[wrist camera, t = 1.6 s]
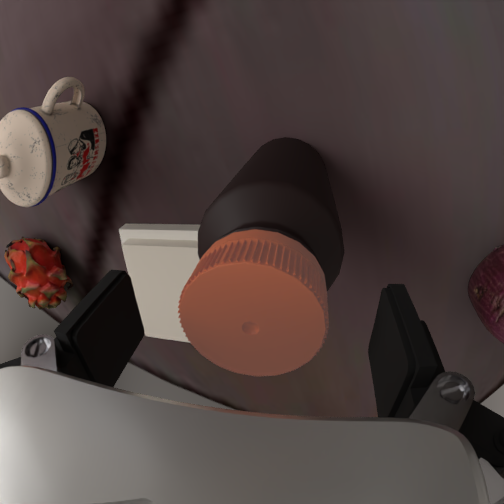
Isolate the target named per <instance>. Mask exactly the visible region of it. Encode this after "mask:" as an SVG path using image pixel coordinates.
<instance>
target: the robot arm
mask: <svg viewBox="0 0 504 504" xmlns="http://www.w3.org/2000/svg"><path fill="white" fill-rule="evenodd" d="M54 332H55V334H56V338H55V339H53V338H52V337H51V336H49V335H38V336H35V337H33V338H31V339H30V340H28V341H27V342H26V343H25V344H24V346H23V348H22V352H21V357H19V358H17V359H14V360H11V361H8V362H5V363H2V364H0V504H504V418H503V417H502V416H500V415H498V414H497V413H495V412H493V411H491V410H490V409H488V408H486V407H485V406H483V405H481V404H479V403H478V402H476V401H474V396H475V390H474V386H473V384H472V382H471V381H470V380H469V379H468V378H467V377H465V376H464V375H462V374H460V373H457V372H445V370H444V367H443V365H442V362H441V359H440V357H439V354H438V352H437V349H436V347H435V344H434V342H433V339H432V337H431V334H430V332H429V330H428V327H427V325H426V323H425V322H424V321H423V320H421V321H420V319H419V317H418V314H417V312H416V310H415V307H414V305H413V303H412V301H411V298H410V296H409V294H408V292H407V289H406V287H405V285H404V284H388V286H387V288H383V289H382V292H381V296H380V301H379V305H378V310H377V314H376V319H375V323H374V327H373V331H372V335H371V339H370V343H369V349H368V354H369V360H370V366H371V372H372V378H373V384H374V391H375V397H376V404H377V412H378V417H319V416H295V415H279V414H267V413H256V412H247V411H238V410H229V409H222V408H214V407H207V406H201V405H195V404H189V403H183V402H177V401H172V400H167V399H162V398H157V397H152V396H147V395H143V394H139V393H134V392H130V391H126V390H122V389H118V388H114V385H115V383H116V381H117V380H118V378H119V376H120V374H121V373H122V371H123V369H124V368H125V366H126V365H127V363H128V361H129V360H130V358H131V356H132V355H133V353H134V351H135V350H136V348H137V346H138V345H139V343H140V341H141V340H142V338H143V336H144V326H143V323H142V319H141V316H140V312H139V308H138V304H137V301H136V297H135V293H134V289H133V285H132V281H131V277H130V276H129V275H127V273H126V272H125V271H121V270H111V271H109V272H108V273H107V274H106V275H105V276H104V277H103V279H102V280H101V281H100V282H99V283H98V284H97V285H96V286H95V287H94V288H93V289H92V290H91V291H90V292H89V293H88V294H87V295H86V296H85V297H84V298H83V299H82V301H81V302H80V303H79V304H78V305H77V306H76V307H75V308H74V309H73V310H72V311H71V312H70V314H69V315H68V316H67V317H66V318H65V319H64V320H63V321H62V322H61V324H60V325H59V326H58V327H57V328H56V329H55V331H54Z"/></svg>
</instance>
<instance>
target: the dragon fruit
mask: <svg viewBox="0 0 504 504" xmlns="http://www.w3.org/2000/svg"><path fill="white" fill-rule="evenodd" d="M7 247H9V248H8V251H7V250H5V260H6V262H7V263H8V265H9V266H10V268H11V271H10V273H9V275H8V278H9V280H10V281H11V282H13V283H15V284H16V285H17V290H16V292H17V293H18V294H19V296H20V297H25V298H27V299H28V304H29V306H30V307H32V308H35V304H36V306H37V307H38V308H39V309H42V308H46V307H47V308H48V309H50V308H56V307H57V306H58V305H59V304H60V303H61V300H63V301H64V302H66V297H67V293H66V291H65V288H64V285H65V284H66V282H69V283H70V286H68V287H67V288H68V289H70V288H72V286H73V283H72V280H71V279H70V278H69V277H68V276H67V275H66V270H65V266H64V265H62V264H61V260H60V257H61V254H60V252H59V249H60V248H59V247H55V248H53V249H54V251H52V250H51V249H50V248H49V246H48V245H47V243H46V242H45V240H41V239H35V238H34V239H26V238H24V237H22V239H21V240H14V241H12V242H10V244H8V245H7ZM60 251H61V249H60Z"/></svg>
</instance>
